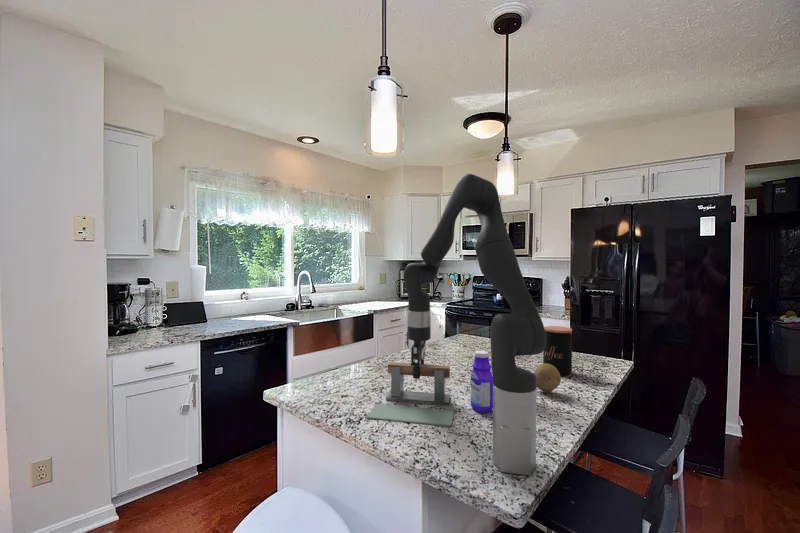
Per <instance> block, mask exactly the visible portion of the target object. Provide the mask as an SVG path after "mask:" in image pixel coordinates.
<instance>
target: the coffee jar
mask: <svg viewBox="0 0 800 533" xmlns="http://www.w3.org/2000/svg"><path fill="white" fill-rule="evenodd" d="M544 328H545V333H546V346H545V349H544V350H543V352H542V353H543V355H542V356H543V357H542V358H543V359H542V360H543V361H542V362H543V363H542V364H544V363H546V364H551V365H553V366H554V367H555V368H556V369H557V370H558V371H559V374H560V377H569V375H571V373H572V372H573V368H572V367H573V365H572V364H573V335H572V332H573V329H572V328H570V327H567V326H561V325H560V326H559V325H557V326H556V325H546V326H544Z"/></svg>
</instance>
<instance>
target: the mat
mask: <svg viewBox="0 0 800 533" xmlns="http://www.w3.org/2000/svg"><path fill="white" fill-rule="evenodd" d="M454 413H455V410H450V409H439V408H430V407H429V408H427V407H417V406H406V405H405V406H404V405H398V404H397V405H396V404H395V405H394V404H383V403H375V405H374V406H373V407H372V409H371V410H370V411H369V413H368V414H367V415H366V419H370V420H380V421H381V420H382V421H391V422H399V423H400V422H401V423H410V424H411V423H412V424H419V425H420V424H421V425H429V426H431V425H432V426H439V425H440V426H441V427H449V426H451V427H452V425H453V420H452V419H454V415H455V414H454Z"/></svg>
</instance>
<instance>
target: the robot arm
mask: <svg viewBox="0 0 800 533" xmlns="http://www.w3.org/2000/svg"><path fill="white" fill-rule="evenodd" d="M500 203H501V202H500V198H499V193H498V190H497V188H496V185H495V184H494V183H493V182H491V181H490V180H488V179H485V178H483V177H480V176H478V175H475V174H472V173H466V174H464V175H462V176H461V177H460V178H459V180H458V181H457V183H456V184H455V185H454V187H453V189H452V191H451V193H450V196H449V198H448V200H447V202H446V204H445V207H444V209H443V211H442V214H441V216H440V218H439V221H438V223H437V224H436V227H435V228H434V230H433V233H432V234H431V235H430V237H429V238H428V239H427V242H426V243H425V245H424V246H423V247H422V250H421V252H420V256H421V259H422V260H423V262H412V263H408V264H407V265H406V266H405V267H404V270H403V275H402V276H403V283H404V287H405V291H406V294H407V298H408V300H407V301H408V302H407V303H408V304H407V305H408V307H407V308H408V309H407V310H408V311H407V321H406V322H407V325H406V326H407V330H406V332H407V339H408V340H410V341H412V342H413V344H412V345H411V347H410V350H411V353H410V354H411V356H410V358H411V359H410V363H411V366H412V367H413V375H412V378H413V379H416V380H419V379H420V378H421V376H420V366H421V364H425V359H426V356H427V354H426V353H427V352H426V347H427V345H426V344H427V343H426V342H427V341H430V339H431V338H432V336H431V334H432V333H431V332H432V331H431V328H432V327H431V323H432V321H431V320H432V318H431V296H430V294H429V293H428V292H425V291H423V288H422V286H424V285H428V284H431V283H432V282H433V281H434V280H435V279H436V277H437V274H438V272H439V269H440V267H441V263H442V261H443V260H444V259H445V257H446V256H447V254H448V252H450V250H451V248H452V246H453V243H454V239H455V227H456V226H455V225H456V221H457V218H458V216H459V215H460V213H461V212H462V210H463V209H467V210H470V211H473V212H475V213H476V215H477V216H478V219H479V222H480V226H481V228H480V232H479V235H478V237H477V239H476V242H475V246H474V247H475V249H474V250H475V255H476V259H477V262H478V266H479V269H480V271H481V274H482V275H483V277H484V278H485V279H486V281H488V282H489V283H490V284H491V285H492V287H494V288H495V289H496V290H497V292H498V293H500V294H501V295H502V297H503V298H504V299H505V300H506V302H507V303H508V306H510V309H511V311H512V313H500V314H497V315H495V316H494V317H492V321H491V323H490V330H489V331H490V332H489V333H490V334H489V337H490V339H489V340H490V355H491V356H490V357H491V358H490V360H491V361H490V362H491V363H490V365H491V373H493V375H492V376H493V409H492V463H493V465H495V466H496V467H497V468H498V469H499V471H500V473H506V474H507V473H508V474H516V475H524V476H531V475H532V473H533V471H535V469H536V467H537V465H536V464H537V396H538V395H537V379H536V376H535V374H533V373H534V372H532V371H531V370H528V369H525V368H523V367H519V366H517V365H516V357H521V356H532V355H533V356H535V355H539V354H541V353H543V350H544V349H545V346H546V333H545V328H544V327H545V324H544V323H543V320H542V317H541V315H540V312H539V310H538V309H537V307H536V305H535V304H536V303H535V302H534V300H533V299H532V295H531V294H530V292H529V289H528V287H527V284H526V282H525V279H524V276H523V273H522V271H521V267H520V265H519V262H518V258H517V254H516V252H515V248H514V246H513V243H512V240H511V238H510V236H509V232H508V230H507V226H506V223H505V219H504V216H503V211H502V207H501V204H500ZM421 285H422V286H421Z"/></svg>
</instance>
